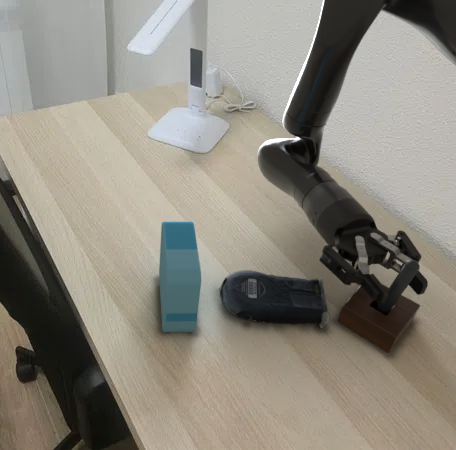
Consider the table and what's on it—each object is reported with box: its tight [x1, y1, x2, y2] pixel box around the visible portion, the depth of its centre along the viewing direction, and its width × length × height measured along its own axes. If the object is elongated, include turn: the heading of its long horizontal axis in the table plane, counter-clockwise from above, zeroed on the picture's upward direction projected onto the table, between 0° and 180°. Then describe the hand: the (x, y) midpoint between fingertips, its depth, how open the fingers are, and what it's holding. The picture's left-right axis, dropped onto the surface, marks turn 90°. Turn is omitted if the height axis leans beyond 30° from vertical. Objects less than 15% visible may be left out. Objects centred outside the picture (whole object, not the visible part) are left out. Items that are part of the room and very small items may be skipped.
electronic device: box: [218, 269, 330, 329], centre depth 81 cm, size 9×6×15 cm
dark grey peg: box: [375, 260, 420, 315], centre depth 76 cm, size 2×2×13 cm
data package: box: [158, 221, 202, 333], centre depth 78 cm, size 12×4×12 cm, turn 2°
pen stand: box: [336, 283, 421, 353], centre depth 80 cm, size 8×8×4 cm
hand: (404, 294), depth 73 cm, fingers open, 5 cm apart
